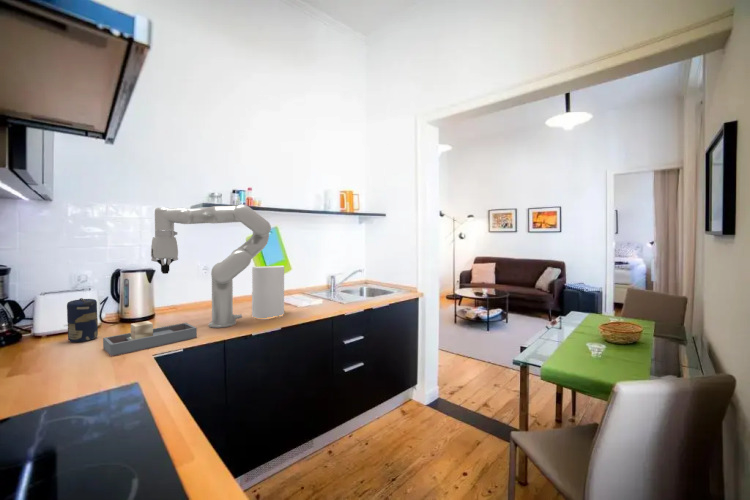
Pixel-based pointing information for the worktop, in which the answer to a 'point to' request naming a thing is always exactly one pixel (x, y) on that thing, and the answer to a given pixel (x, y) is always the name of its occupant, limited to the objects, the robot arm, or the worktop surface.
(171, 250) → the robot arm
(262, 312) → the cylinder
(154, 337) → the grey shallow tray
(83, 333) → the canister
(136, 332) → the birch block
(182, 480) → the worktop surface
